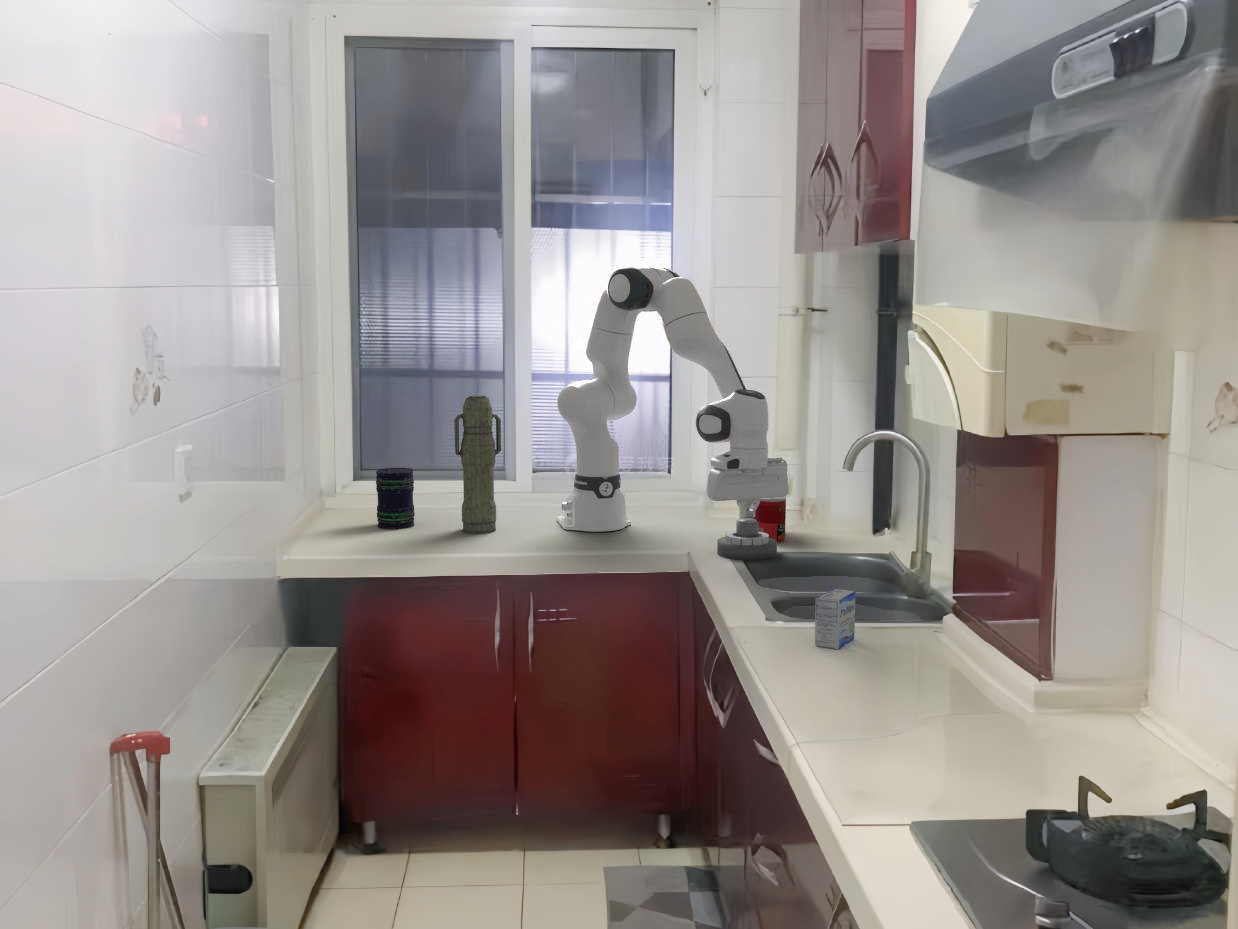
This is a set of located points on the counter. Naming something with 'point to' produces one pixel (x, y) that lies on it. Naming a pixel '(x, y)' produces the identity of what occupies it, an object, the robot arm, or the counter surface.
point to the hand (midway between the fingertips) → (747, 517)
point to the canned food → (772, 517)
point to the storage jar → (395, 498)
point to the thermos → (478, 463)
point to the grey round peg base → (747, 547)
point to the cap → (747, 528)
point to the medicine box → (835, 618)
